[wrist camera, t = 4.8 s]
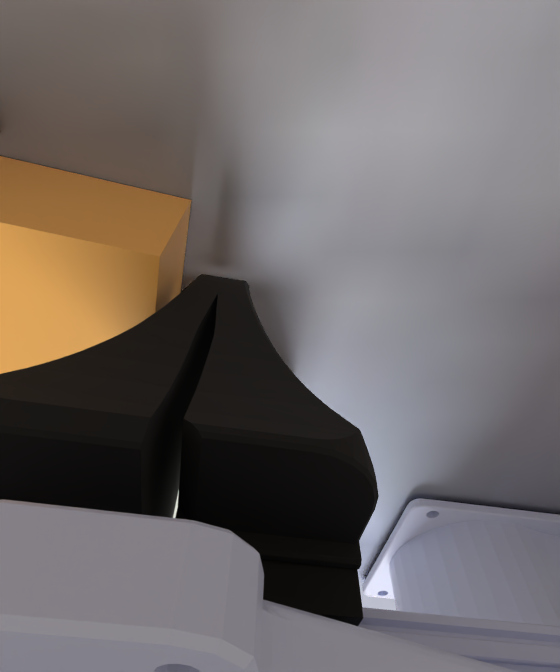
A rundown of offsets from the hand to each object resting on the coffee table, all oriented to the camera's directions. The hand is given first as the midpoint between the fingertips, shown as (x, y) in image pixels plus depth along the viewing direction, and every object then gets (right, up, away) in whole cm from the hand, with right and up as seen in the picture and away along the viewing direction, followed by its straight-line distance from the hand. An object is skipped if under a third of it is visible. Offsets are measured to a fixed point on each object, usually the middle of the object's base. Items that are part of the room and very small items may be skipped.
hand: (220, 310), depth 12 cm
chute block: (-4, +1, +1) cm, 4 cm away
